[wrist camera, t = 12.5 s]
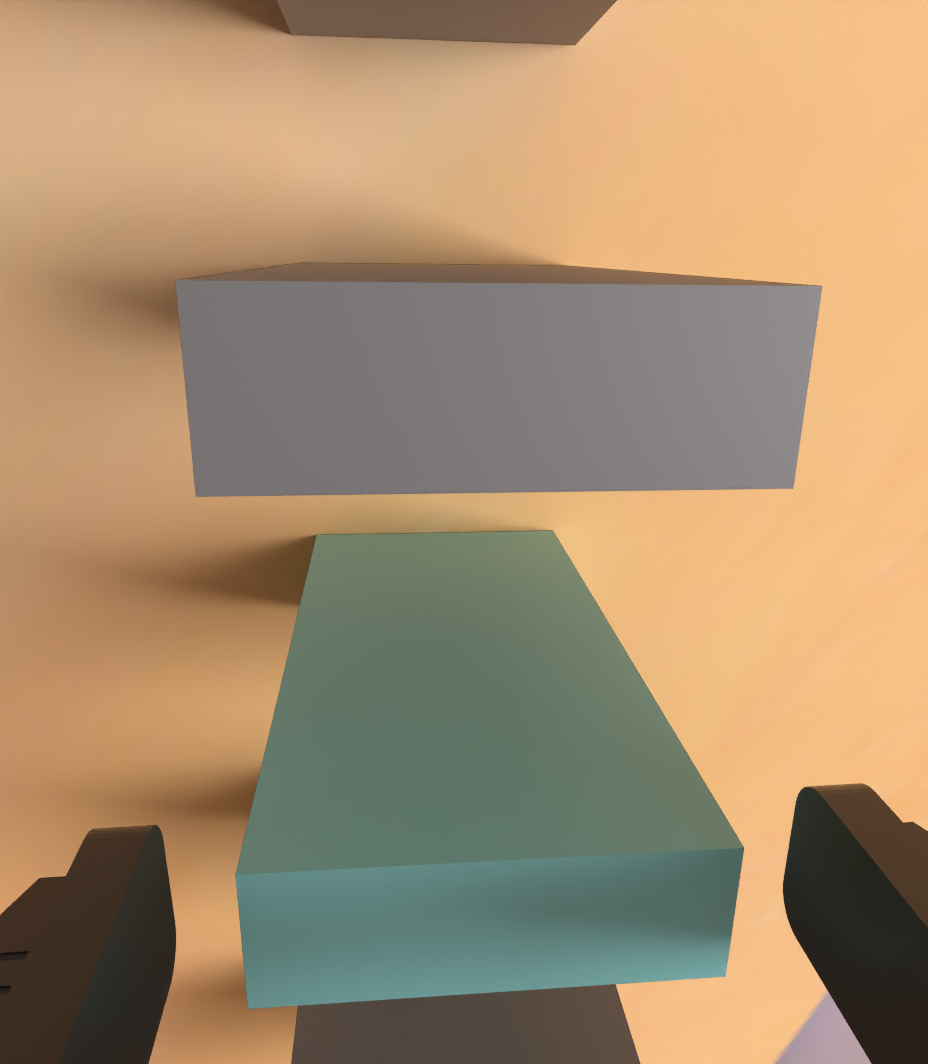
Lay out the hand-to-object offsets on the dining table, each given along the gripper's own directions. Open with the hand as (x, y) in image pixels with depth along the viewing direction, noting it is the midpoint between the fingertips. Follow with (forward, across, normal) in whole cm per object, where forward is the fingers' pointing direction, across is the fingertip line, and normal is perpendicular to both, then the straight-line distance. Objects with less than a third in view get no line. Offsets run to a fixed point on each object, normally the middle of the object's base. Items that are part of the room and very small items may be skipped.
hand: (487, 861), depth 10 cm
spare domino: (+11, 0, +1) cm, 11 cm away
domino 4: (+12, 0, -6) cm, 13 cm away
